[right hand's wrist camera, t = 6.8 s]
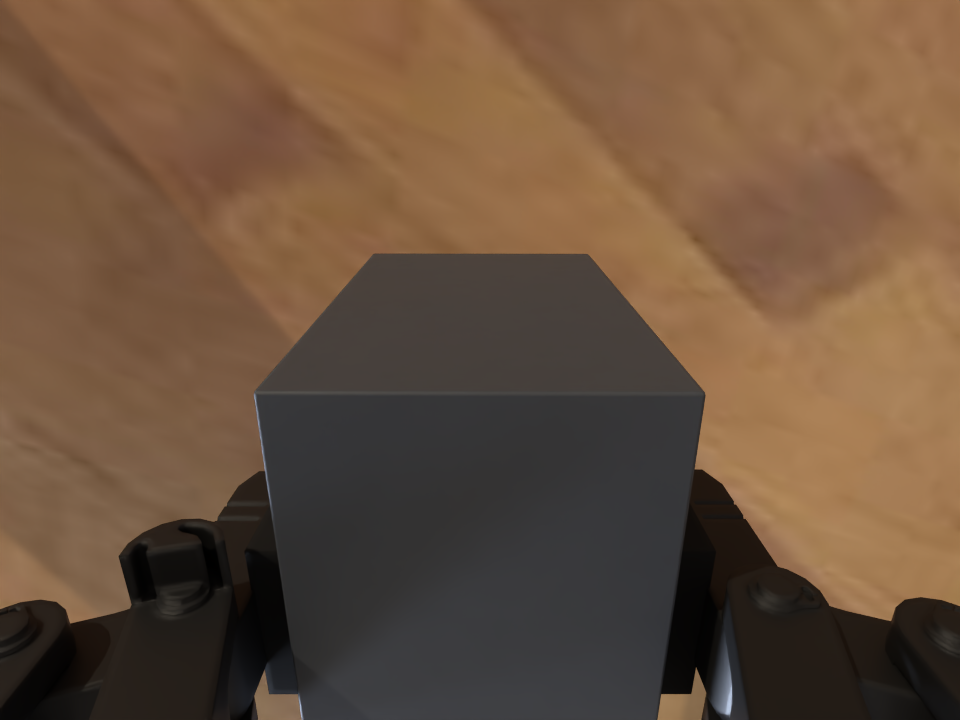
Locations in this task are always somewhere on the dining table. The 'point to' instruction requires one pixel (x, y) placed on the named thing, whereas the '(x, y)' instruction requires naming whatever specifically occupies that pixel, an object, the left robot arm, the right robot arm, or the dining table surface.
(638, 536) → the bar
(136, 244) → the dining table surface
